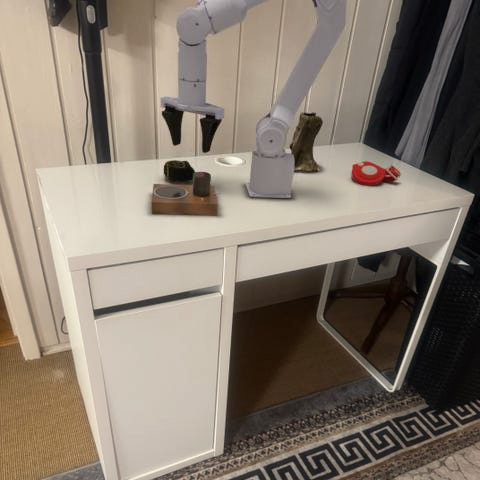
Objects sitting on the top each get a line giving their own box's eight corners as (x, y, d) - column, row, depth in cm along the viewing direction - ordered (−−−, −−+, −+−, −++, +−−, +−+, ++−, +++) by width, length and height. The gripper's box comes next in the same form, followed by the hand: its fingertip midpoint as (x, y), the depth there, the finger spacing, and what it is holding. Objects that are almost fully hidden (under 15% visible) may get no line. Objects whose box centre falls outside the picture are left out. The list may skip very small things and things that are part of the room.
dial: (192, 190, 97) (192, 169, 95) (209, 190, 98) (210, 170, 95) (193, 196, 94) (193, 175, 92) (210, 197, 95) (211, 176, 92)
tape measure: (196, 184, 107) (196, 168, 105) (166, 185, 105) (166, 169, 103) (189, 174, 113) (189, 158, 110) (161, 175, 111) (161, 159, 108)
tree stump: (295, 158, 129) (302, 106, 121) (325, 167, 125) (335, 114, 117) (275, 166, 123) (282, 112, 115) (307, 176, 118) (316, 120, 110)
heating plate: (187, 187, 98) (187, 185, 98) (188, 199, 93) (188, 198, 93) (154, 186, 98) (154, 184, 97) (152, 198, 92) (152, 197, 92)
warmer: (217, 196, 102) (218, 185, 100) (221, 215, 94) (222, 202, 92) (153, 195, 100) (153, 182, 99) (152, 213, 92) (151, 200, 91)
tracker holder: (364, 183, 113) (343, 161, 119) (361, 198, 117) (341, 175, 122) (407, 170, 115) (385, 148, 121) (402, 184, 119) (381, 163, 125)
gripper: (150, 75, 93) (153, 145, 101) (213, 87, 88) (210, 159, 96) (171, 72, 98) (171, 138, 106) (230, 83, 93) (226, 151, 101)
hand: (191, 148), depth 101 cm, fingers open, 7 cm apart
